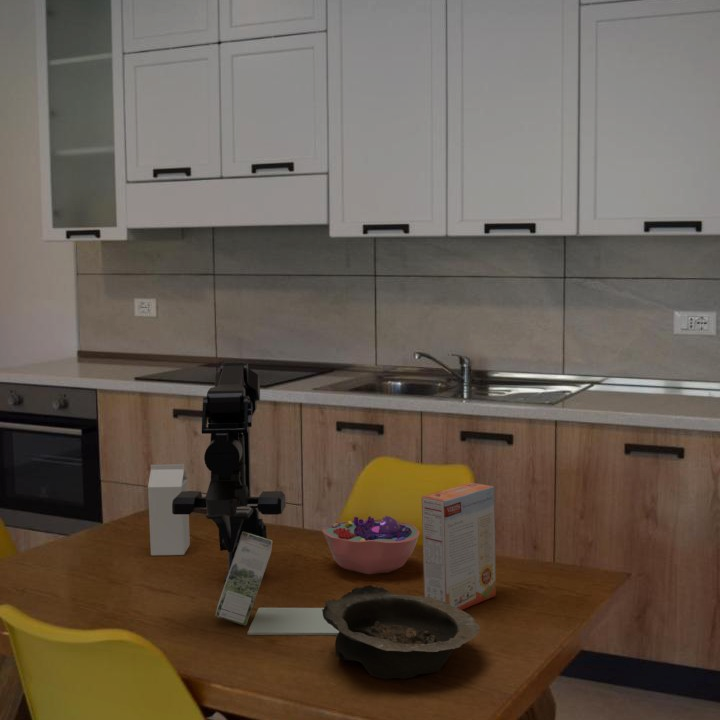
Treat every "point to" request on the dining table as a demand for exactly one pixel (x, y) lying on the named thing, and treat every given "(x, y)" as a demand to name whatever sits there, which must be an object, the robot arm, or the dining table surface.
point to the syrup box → (244, 578)
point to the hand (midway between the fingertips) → (230, 551)
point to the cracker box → (459, 545)
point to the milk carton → (167, 510)
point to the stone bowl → (397, 631)
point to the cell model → (371, 544)
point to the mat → (290, 622)
